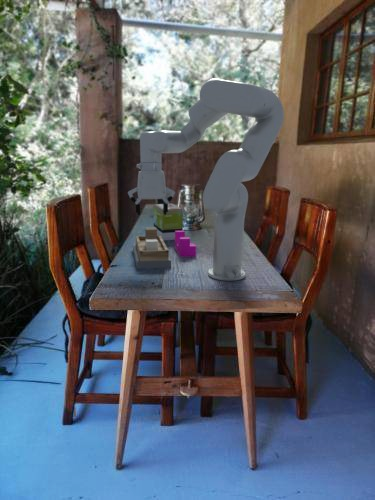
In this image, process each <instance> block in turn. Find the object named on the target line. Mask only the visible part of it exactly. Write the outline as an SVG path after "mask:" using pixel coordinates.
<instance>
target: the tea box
mask: <svg viewBox="0 0 375 500" xmlns="http://www.w3.org/2000/svg"><path fill="white" fill-rule="evenodd" d="M152 208H153V227H156V228H157V236H161V237H162V239H163V241H164V242H165V241H175V231H183V213H184V212H183V211H184V210H183V209H184V208H182V207H180V206H178V205H176V204H174V203H169V204H168V212H166V215H165V214H164V213H163V204H156V203H155V204H153V207H152Z"/></svg>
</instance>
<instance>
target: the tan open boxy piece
mask: <svg viewBox="0 0 375 500" xmlns="http://www.w3.org/2000/svg"><path fill="white" fill-rule="evenodd" d="M144 230H145V231H144V232H145V235H135V243H136V247H137V251H138V255H139V259H140V261H164V260H169V257H170V256H169V254H170V251H169V248H168V246H167V245H166V243H165V240H164V241H163V239H162V237H161V236H157V228H156V227H154V226H152V227H147V226H146V227H145V229H144ZM145 239H157V241H158V250H148V251H146V250H145Z"/></svg>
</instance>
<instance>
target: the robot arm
mask: <svg viewBox="0 0 375 500" xmlns="http://www.w3.org/2000/svg"><path fill="white" fill-rule="evenodd" d="M227 114H232V115H236V116H242V117H248V118H254V119H255V120H254V122H253V124H252V125H251V126H250V128H249V129H248V131H246V134H245V136H244V138H243V140H242V142H241V144H240V146H239V147H238V149H231V150H228V151H226V152H224V153H223V154H222V155H221V156H220V157H219V158H218V160H217V161H216V163H215V166H214V168H213V170H212V172H211V174H210V176H209V178H208V180H207V182H206V185H205V187H204V190H203V193H202V203H203V206H204V208H205V210H206V211H207V212H209V213H210V214H213V215H214V214H215V215H216V216H215V219H214V220H215V221H214V230H213V232H214V233H213V234H214V235H213V236H214V237H213V254H212V256H213V257H212V267H211V268H209V269H208V270H207V275H208V276H209V277H210V278H212V279H215V280H219V281H226V282H227V281H228V282H233V281H240V280H243V279H244V278H245V277H246V272H245V271H244V270H243V269H242V259H243V257H242V256H243V242H244V229H245V219H246V218H245V217H246V213H247V212H246V211H247V207H248V202H249V193H248V190H247V187H246V186H245V185H244V184H243V183H244V182H248V181H251V180H253V179H255V178H256V177H257V176H258V175H259V172H260V170H261V168H262V166H263V164H264V162H265V160H266V159H267V156H268V155H269V154H270V153H269V152H270V151H271V148H272V146H273V144H274V143H275V141H276V139H277V137H278V135H279V133H280V131H281V129H282V126H283V124H284V117H285V111H284V107H283V103H282V101H281V99H280V98H279V97H278V95H277V94H276V93H275V92H273V91H272V90H270V89H268V88H266V87H263V86H258V85H255V84H251V83H245V82H239V81H232V80H225V79H221V78H211V79H209V80H207V81H205V82H204V83H203V85H202V86H201V88H200V91H199V100H198V101H196V102H195V103H194V104H192V105H191V106H190V107H189V109H188V117H189V121H188V123H186V124H185V125H184V126H183V127H182V128H180V129H179V130H165V129H163V130H158V131H142V132H141V133H140V135H139V146H140V147H139V148H140V149H139V151H140V152H139V154H140V163H137V164H136V169H140V171H138V173H137V174H138V175H137V186H136V187H134V188H132V189H131V190H128V192H127V194H128V196H129V199H130V201H132V202H133V203H134V204H135V213H136V214H137V215H138V216H141V204H140V203H141V201H142V200H156V199H162V200H163V201H164V203H163V213H164V214H165V215H166V212H168V203H169V204H170V202H171V201H172V200H173V199H174V197H175V194H176V191H175V190H174V189H171V188H169V187H167V186H166V184H167V183H166V177H165V176H166V175H165V172H164V171H163V170H162V168H163V167H162V166H163V165H162V162H163V161H162V154H180V153H183V152H185V151H187V150H188V149H190V148H191V147H192V146H193V145H195V144H197V143H198V142H199V141H200V140H201V138H203V136H204V134H205V132H206V130H208V128H209V127H211V126H212V125H214V124H215V123H217V122H218V121H219V120H220V119H221V118H223V117H224V116H226V115H227ZM166 191H167V192H169V197H168V198H167V199H166V198H165V197H166ZM135 193H137V198H135V197H134V195H133V194H135Z"/></svg>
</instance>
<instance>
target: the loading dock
mask: <svg viewBox="0 0 375 500" xmlns="http://www.w3.org/2000/svg"><path fill="white" fill-rule="evenodd" d="M132 252H133V256H134V261H135V266H136V270H148V269H149V270H151V269H154V268H159V269H172V260H171V257H170V256H169V260H164V261H140V259H139V255H138V251H137V247H136V242H133V243H132Z"/></svg>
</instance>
